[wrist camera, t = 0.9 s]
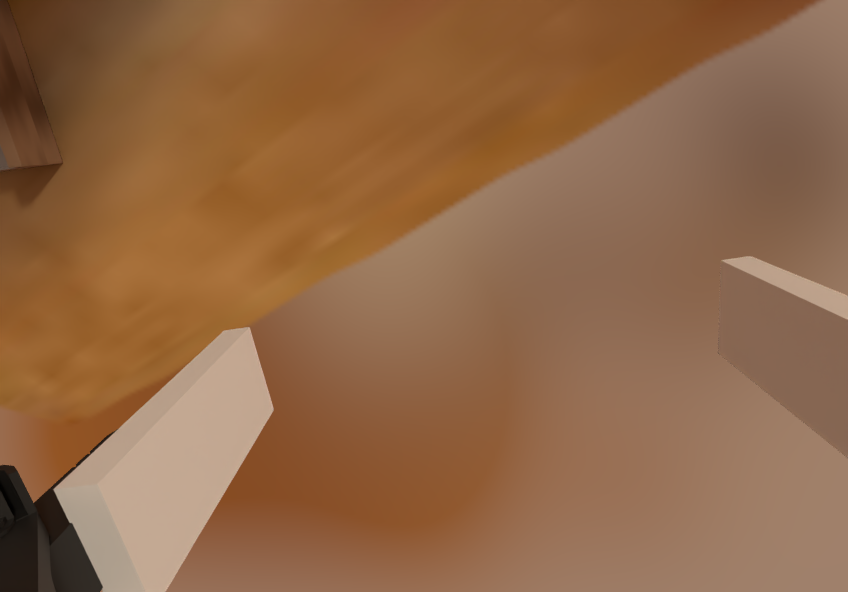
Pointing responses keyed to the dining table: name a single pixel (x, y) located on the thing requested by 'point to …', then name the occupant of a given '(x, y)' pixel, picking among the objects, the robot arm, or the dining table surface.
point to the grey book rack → (21, 104)
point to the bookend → (4, 161)
